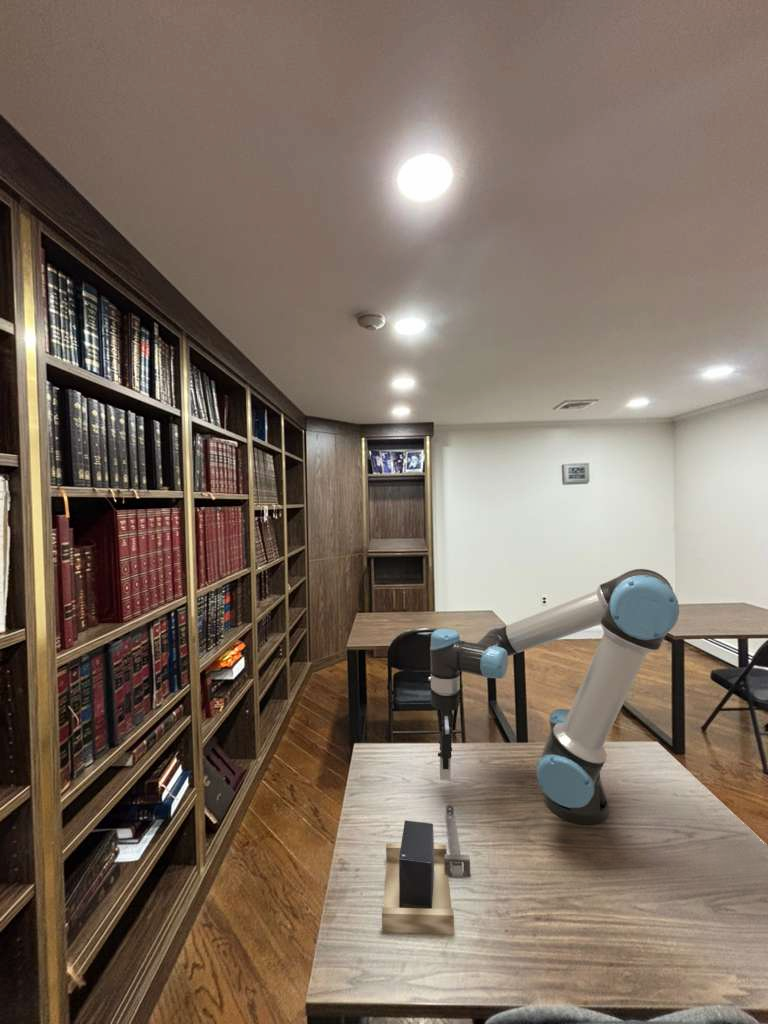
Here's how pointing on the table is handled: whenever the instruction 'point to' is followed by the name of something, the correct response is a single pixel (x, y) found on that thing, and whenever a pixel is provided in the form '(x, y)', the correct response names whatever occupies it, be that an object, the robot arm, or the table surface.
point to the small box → (416, 865)
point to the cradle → (441, 912)
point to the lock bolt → (453, 840)
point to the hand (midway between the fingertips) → (445, 777)
